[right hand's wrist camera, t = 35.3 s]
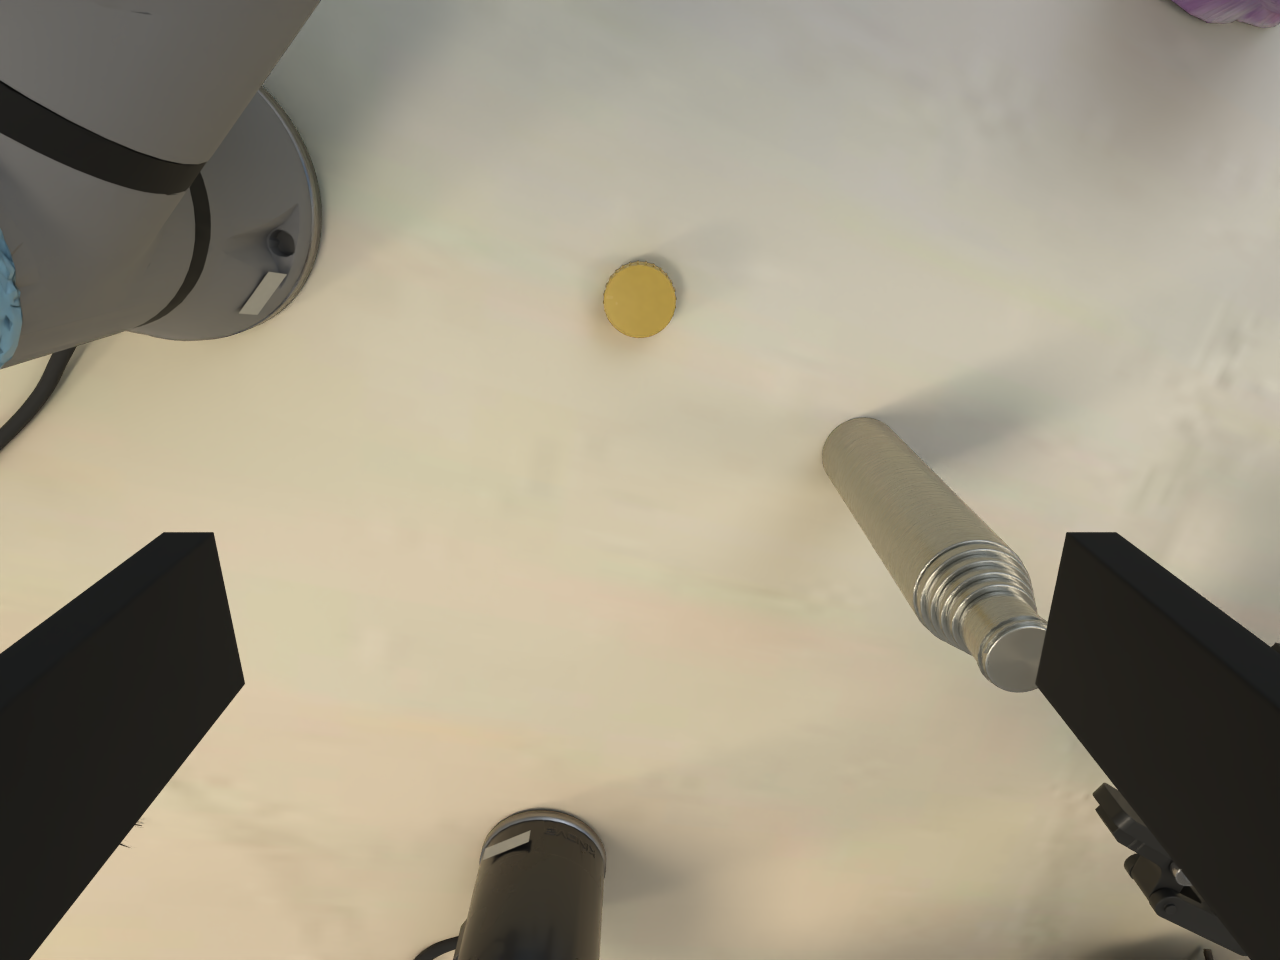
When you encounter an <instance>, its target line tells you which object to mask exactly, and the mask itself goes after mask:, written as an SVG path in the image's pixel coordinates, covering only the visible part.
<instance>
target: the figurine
mask: <svg viewBox="0 0 1280 960" xmlns="http://www.w3.org/2000/svg"><path fill="white" fill-rule="evenodd" d="M1172 1H1173V2H1174V3H1176V4H1177V5H1178V6H1180V7H1181V8H1182V9H1184V10H1185V11H1186V12H1188V13H1189V14H1191V15H1193V16H1195V17H1197V18H1200V19H1202V20H1204V21H1206V23H1232V22H1233V21H1235V20H1237V21H1239V22H1245V23H1248V24H1251V25H1254V26H1257V27H1261V28H1266V27H1273V26H1276V25H1278V24H1279V23H1280V0H1172Z"/></svg>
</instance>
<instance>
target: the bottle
mask: <svg viewBox="0 0 1280 960" xmlns="http://www.w3.org/2000/svg"><path fill="white" fill-rule="evenodd" d="M822 461H823V466H824V469H825V471H826V473H827V475H828V476H829V478H830V480H831V481H832V483H833V484H834V486H835V488H836V489H837V491H838V492H839V494H840V495H841V497H842V499H843V500H844V502H845V503H846V505H847V507H848V508H849V510H850V511H851V513H852V514H853V516H854V518H855V519H856V521H857V522H858V524H859V525H860V527H861V529H862V530H863V532H864V533H865V535H866V537H867V538H868V540H869V541H870V543H871V544H872V546H873V548H874V549H875V551H876V552H877V554H878V556H879V557H880V559H881V560H882V562H883V563H884V565H885V567H886V568H887V570H888V571H889V573H890V575H891V576H892V578H893V579H894V581H895V582H896V584H897V586H898V587H899V589H900V590H901V592H902V594H903V595H904V597H905V598H906V600H907V601H908V603H909V605H910V606H911V608H912V609H913V611H914V612H915V614H916V616H917V617H918V619H919V620H920V622H921V623H922V624H923V625H924V626H925V627H926V628H927V629H928V630H929V631H930V632H931V633H933V634H934V635H935V636H936V637H938V638H939V639H941V640H943V641H945V642H947V643H948V644H950V645H952V646H954V647H956V648H958V649H960V650H962V651H965V652H966V653H968V654H970V655H972V656H973V657H974V658H975V660H976V661H977V664H978V666H979V668H980V671H981V673H982V674H983V675H984V676H985V677H986V678H987V679H988V680H989V681H990V682H991V683H993V684H994V685H996V686H997V687H999V688H1001V689H1003V690H1006V691H1010V692H1027V691H1031V690H1034V689H1037V688H1038V687H1037V686H1036V684H1035V682H1036V677H1037V672H1038V667H1039V662H1040V658H1041V653H1042V648H1043V643H1044V638H1045V634H1046V629H1047V624H1048V622H1047V621H1046V620H1044V619H1042V618H1041V617H1040V616H1039V615H1038V614H1037V608H1036V605H1035V598H1034V594H1033V589H1032V585H1031V580H1030V577H1029V574H1028V572H1027V570H1026V569H1025V567H1024V565H1023V563H1022V561H1021V560H1020V558H1019V557H1018V556H1017V555H1016V554H1015V553H1014V552H1013V551H1012V550H1011V549H1010V548H1009V547H1008V546H1007V545H1006V544H1005V543H1004V542H1003V541H1002V540H1001V539H1000V538H999V537H998V536H997V535H996V534H995V533H994V532H993V531H992V530H991V529H990V528H989V527H988V526H987V525H986V524H985V523H984V522H983V521H982V520H981V519H980V518H979V517H978V516H977V515H976V514H975V513H974V512H973V511H972V510H971V509H970V508H969V507H968V506H967V505H966V504H965V503H964V502H963V501H962V500H961V499H960V498H959V497H958V496H957V495H956V494H955V493H954V492H953V491H952V490H951V489H950V488H949V487H948V486H947V485H946V484H945V483H944V482H943V481H942V480H941V479H940V478H939V477H938V476H937V475H936V474H935V473H934V472H933V471H932V470H931V469H930V468H929V467H928V466H927V465H926V464H925V463H924V462H923V461H922V460H921V459H920V458H919V457H918V456H917V455H916V454H915V453H914V452H913V451H912V450H911V449H910V448H909V447H908V446H907V445H906V444H905V443H904V442H903V441H902V440H901V439H900V438H899V437H898V436H897V435H896V434H895V433H894V432H893V431H892V430H891V429H890V428H889V427H888V426H887V425H886V424H884V423H883V422H881V421H879V420H876V419H872V418H856V419H852V420H849V421H847V422H845V423H843V424H841V425H840V426H838V427H837V428H836V429H835V430H834V431H833V432H832V433H831V434H830V436H829V437H828V439H827V440H826V443H825V445H824V448H823V453H822Z"/></svg>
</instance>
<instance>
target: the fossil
mask: <svg viewBox="0 0 1280 960" xmlns="http://www.w3.org/2000/svg"><path fill="white" fill-rule="evenodd" d="M1204 956H1205V960H1213V956H1212V952H1211V950H1208V949H1204Z"/></svg>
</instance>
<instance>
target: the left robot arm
mask: <svg viewBox="0 0 1280 960" xmlns="http://www.w3.org/2000/svg"><path fill="white" fill-rule="evenodd" d="M1271 648H1272V649H1274V650H1275V651H1277V652H1278V653H1279V654H1280V643H1275V644H1274V645H1273V646H1272V647H1271ZM1093 796H1094V798H1095V799H1096V800H1097V802H1098V803H1099V804H1100V805H1099V806H1098V807H1097V808H1096V809H1095V810H1096V812H1097V813H1098V815H1099V816H1100V818H1101V819H1102V821H1103V822H1104V823H1105V825H1106V826H1107V827H1108V829H1109V830H1110V832H1111V833H1112V834H1113V836H1114V837H1115V839H1116V840H1117V841H1118V842H1119V843H1121V844H1122V845H1124V846H1126V847H1128V848H1129V849H1131V850H1133V851H1135V852H1136V853H1137V854H1133V855H1131V856H1130V857H1128V858H1127V859H1126V861H1125V863H1124V868H1125V869H1126V871H1127V872H1128V874H1129V875H1130V876H1131V878H1132V879H1134V880H1135V882H1136V883H1137V885H1138V886H1139V888H1140V889H1141V890H1142V892H1143V893H1144V895H1145V896H1146V897H1147V899H1148V900H1149V903H1150V905H1151V906H1152V908H1153V909H1154V911H1155V912H1156V914H1157V915H1159V916H1160V917H1162V918H1165V919H1167V920H1169V921H1171V922H1173V923H1175V924H1177V925H1179V926H1181V927H1183V928H1185V929H1187V930H1189V931H1192V932H1194V933H1196V934H1198V935H1200V936H1202V937H1204V938H1206V939H1208V940H1210V941H1212V942H1214V943H1216V944H1219V945H1221V946H1223V947H1225V948H1227V949H1229V950H1231V951H1233V952H1235V953H1237V954H1239V955H1242V956H1247V954H1246V953H1245V952H1244V950H1243V949H1242V948H1241V947H1240V945H1239V944H1238V943H1237V941H1236V940H1235V939H1234V938H1233V936H1232V935H1231V934H1230V933H1229V931H1228V930H1227V929H1226V927H1225V926H1224V925H1223V924H1222V922H1221V921H1220V920H1219V918H1218V917H1217V916H1216V915H1215V913H1214V912H1213V911H1212V909H1211V908H1210V907H1209V906H1208V904H1207V903H1206V902H1205V901H1204V899H1203V898H1202V897H1201V895H1200V894H1199V893H1198V892H1197V890H1196V889H1195V888H1194V886H1193V885H1192V884H1191V883H1190V881H1189V880H1188V879H1187V878H1186V876H1185V875H1184V874H1183V872H1182V871H1181V870H1180V869H1179V867H1178V866H1177V865H1176V863H1175V862H1174V861H1173V860H1172V858H1171V857H1170V856H1169V854H1168V853H1167V852H1166V851H1165V849H1164V848H1163V847H1162V846H1161V844H1160V843H1159V842H1158V840H1157V839H1156V838H1155V837H1154V835H1153V834H1152V833H1151V831H1150V830H1149V829H1148V828H1147V826H1146V825H1145V824H1144V822H1143V821H1142V820H1141V819H1140V817H1139V816H1138V815H1137V814H1136V812H1135V811H1134V810H1133V808H1132V807H1131V806H1130V805H1129V803H1128V802H1127V801H1126V799H1125V798H1124V797H1123V796H1122V794H1121V793H1120V792H1119V791H1118V790H1117V789H1115V788H1113V787H1112V786H1110V785H1108V784H1106V783H1103V784H1102V785H1101V786H1100V787H1099V788H1098V789H1097V790H1096V791H1095V792H1094V793H1093ZM605 872H606V854H605V849H604V846H603V844H602V842H601V840H600V839H599V837H598V836H597V834H596V833H595V832H594V831H593V830H592V829H591V828H590V827H589V826H588V825H586V824H585V823H583V822H582V821H580V820H578V819H577V818H574V817H572V816H570V815H567V814H564V813H560V812H555V811H547V810H536V811H527V812H523V813H519V814H516V815H513V816H511V817H509V818H507V819H505V820H503V821H502V822H500V823H499V824H498V825H496V826H495V827H494V828H493V829H492V831H491V832H490V833H489V834H488V836H487V838H486V840H485V842H484V844H483V848H482V852H481V857H480V866H479V871H478V875H477V879H476V884H475V888H474V891H473V896H472V900H471V904H470V909H469V913H468V917H467V919H466V921H465V922H464V923H463V925H462V926H461V929H460V933H459V936H458V937H454V938H450V939H447V940H444V941H441V942H438V943H436V944H434V945H432V946H430V947H429V948H427V949H426V950H424V951H423V952H422V953H421V954H419V955H418V956H417V957H416V958H415V959H414V960H433V959H434V958H436V957H438V956H440V955H442V954H444V953H446V952H449V951H452V950H455V949H456V950H455V954H454V958H453V960H599V958H600V939H601V921H602V905H603V886H604V878H605Z"/></svg>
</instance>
